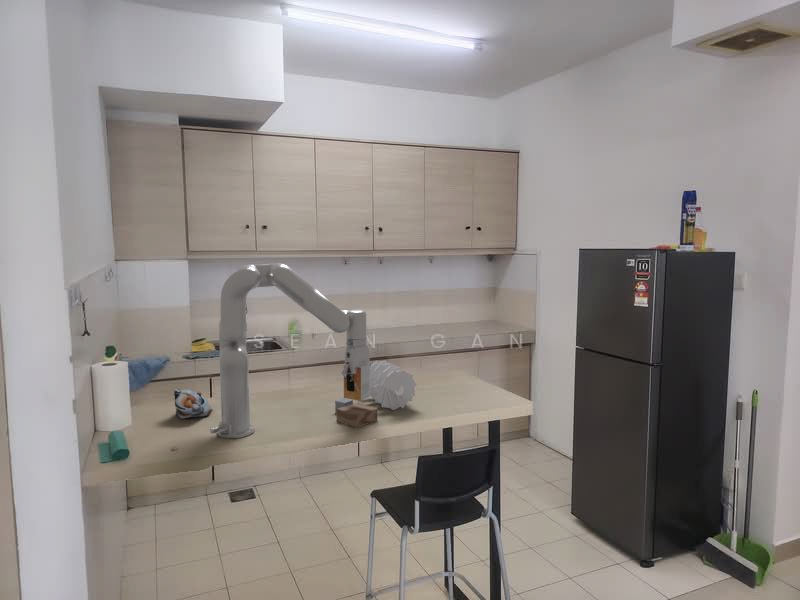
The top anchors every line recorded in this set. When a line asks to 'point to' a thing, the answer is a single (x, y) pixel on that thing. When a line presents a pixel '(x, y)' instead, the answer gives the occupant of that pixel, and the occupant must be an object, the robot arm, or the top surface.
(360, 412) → the walnut block
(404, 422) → the top surface
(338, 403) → the slate-grey cube
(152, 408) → the top surface
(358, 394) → the small box
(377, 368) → the spiral staircase
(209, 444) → the top surface
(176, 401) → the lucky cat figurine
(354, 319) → the robot arm
